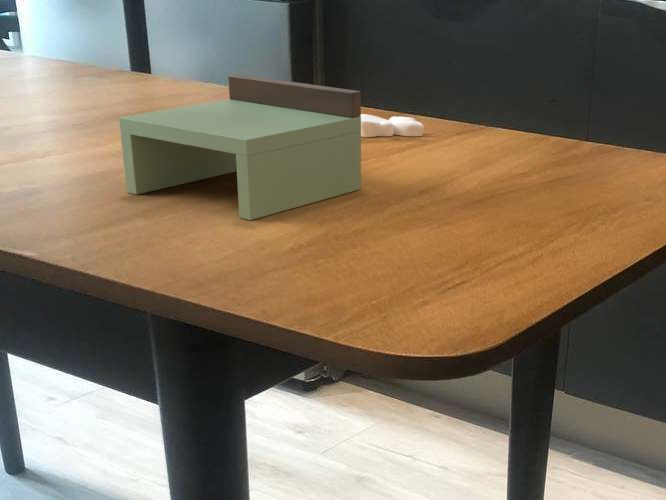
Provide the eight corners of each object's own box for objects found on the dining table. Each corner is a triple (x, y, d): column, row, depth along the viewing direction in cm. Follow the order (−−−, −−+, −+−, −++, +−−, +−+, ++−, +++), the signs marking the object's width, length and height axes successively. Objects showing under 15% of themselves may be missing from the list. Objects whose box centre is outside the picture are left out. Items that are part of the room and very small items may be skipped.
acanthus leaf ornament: (423, 137, 116) (424, 118, 115) (364, 140, 114) (364, 122, 113) (396, 124, 122) (397, 106, 121) (339, 127, 119) (339, 109, 118)
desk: (250, 220, 84) (245, 111, 80) (126, 192, 91) (115, 90, 87) (361, 189, 94) (361, 91, 90) (242, 166, 101) (237, 74, 97)
